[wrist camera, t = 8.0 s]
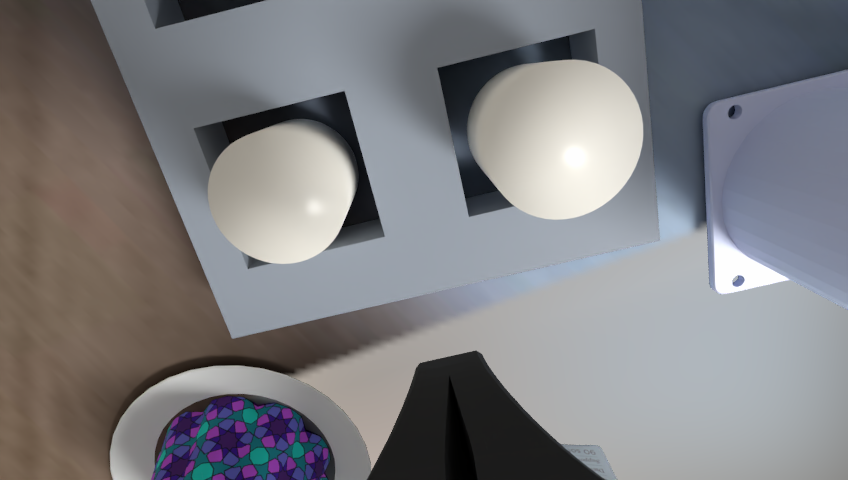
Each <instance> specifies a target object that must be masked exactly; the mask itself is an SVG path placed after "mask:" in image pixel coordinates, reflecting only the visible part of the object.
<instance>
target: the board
mask: <svg viewBox="0 0 848 480" xmlns="http://www.w3.org/2000/svg"><path fill="white" fill-rule="evenodd" d="M91 3H92V5H93V7H94V10H95V12H96V14H97V17H98V19H99V22H100V24H101V26H102V29H103V31H104V34H105V36H106V38H107V41H108V43H109V45H110V48H111V50H112V53H113V55H114V57H115V60H116V62H117V65H118V67H119V69H120V72H121V74H122V77H123V79H124V81H125V84H126V86H127V88H128V91H129V93H130V96H131V98H132V100H133V103H134V105H135V108H136V110H137V112H138V115H139V117H140V120H141V122H142V124H143V127H144V129H145V131H146V134H147V136H148V139H149V141H150V143H151V146H152V148H153V151H154V153H155V155H156V158H157V160H158V163H159V165H160V167H161V170H162V172H163V174H164V177H165V179H166V182H167V184H168V186H169V189H170V191H171V194H172V196H173V198H174V201H175V203H176V205H177V208H178V210H179V213H180V215H181V217H182V220H183V222H184V225H185V227H186V229H187V232H188V234H189V237H190V239H191V241H192V244H193V246H194V248H195V251H196V253H197V256H198V258H199V260H200V263H201V265H202V268H203V270H204V272H205V275H206V277H207V280H208V282H209V284H210V287H211V289H212V291H213V294H214V296H215V299H216V301H217V303H218V306H219V308H220V311H221V313H222V315H223V318H224V320H225V323H226V325H227V327H228V330H229V332H230V334H231V337H232V339H233V338H238V337H242V336H246V335H251V334H255V333H259V332H264V331H268V330H273V329H277V328H281V327H286V326H290V325H294V324H299V323H303V322H307V321H312V320H316V319H320V318H325V317H329V316H334V315H338V314H342V313H347V312H351V311H355V310H360V309H364V308H368V307H373V306H377V305H382V304H386V303H390V302H395V301H399V300H403V299H408V298H412V297H416V296H421V295H425V294H429V293H434V292H438V291H443V290H447V289H451V288H456V287H460V286H464V285H469V284H473V283H477V282H482V281H486V280H490V279H495V278H499V277H504V276H508V275H512V274H517V273H521V272H525V271H530V270H534V269H538V268H543V267H547V266H551V265H556V264H560V263H565V262H569V261H573V260H578V259H582V258H586V257H591V256H595V255H599V254H604V253H608V252H613V251H617V250H621V249H626V248H630V247H634V246H639V245H643V244H647V243H652V242H656V241H660V235H659V221H658V208H657V195H656V182H655V168H654V155H653V142H652V129H651V115H650V102H649V89H648V76H647V63H646V49H645V36H644V23H643V10H642V0H265V1H261V2H258V3H254V4H250V5H246V6H242V7H238V8H234V9H230V10H226V11H223V12H219V13H215V14H211V15H207V16H203V17H199V18H195V19H192V20H188V21H185V19H184V17H183V14H182V11H181V8H180V6H179V3H178V0H91ZM568 35H569V41H570V49H571V57H572V60H584V61H589V62H593V63H596V64H599V65H601V66H604V67H606V68H607V69H609V70H611V71H612V72H614V73H615V74H616V75H618V76H619V77H620V78H621V79H622V80H623V81H624V82H625V83H626V84H627V85H628V87H629V88H630V90H631V91H632V93H633V94H634V96H635V98H636V100H637V102H638V105H639V108H640V111H641V115H642V121H643V142H642V148H641V153H640V157H639V159H638V162H637V165H636V167H635V169H634V171H633V173H632V175H631V176H630V178H629V179H628V181H627V182H626V184H625V185H624V186H623V188H622V189H621V190H620V191H619V192H618V193H617V194H616V195H615V196H614V197H613V198H612V199H611V200H609V201H608V202H607V203H605V204H604V205H603V206H601V207H599V208H598V209H596V210H594V211H592V212H590V213H587V214H585V215H582V216H579V217H575V218H570V219H561V220H552V219H544V218H539V217H535V216H532V215H530V214H527V213H525V212H523V211H521V210H520V209H518V208H517V207H515V206H514V205H513V204H511V203H510V202H509V201H508V200H507V199H506V198H505V197H504V196H503V195H502V193H501V192H500V191H495V192H491V193H486V194H482V195H478V196H474V197H470V198H465V196H464V192H463V187H462V182H461V177H460V173H459V168H458V163H457V159H456V154H455V149H454V144H453V140H452V135H451V130H450V125H449V121H448V116H447V111H446V107H445V102H444V97H443V92H442V88H441V83H440V78H439V74H438V69H437V68H439V67H443V66H447V65H451V64H455V63H459V62H463V61H467V60H471V59H475V58H479V57H483V56H487V55H491V54H495V53H499V52H503V51H507V50H512V49H516V48H520V47H524V46H528V45H532V44H536V43H540V42H544V41H548V40H552V39H556V38H560V37H564V36H568ZM342 91H345V94H346V97H347V101H348V105H349V108H350V112H351V116H352V119H353V123H354V126H355V130H356V134H357V137H358V141H359V145H360V148H361V152H362V155H363V159H364V163H365V166H366V170H367V174H368V177H369V181H370V184H371V188H372V192H373V195H374V199H375V202H376V206H377V210H378V213H379V217H380V219H377V220H372V221H368V222H364V223H360V224H355V225H351V226H347V227H343V228H341V229H340V231H339V233H338V235H337V236H336V238H335V239H334V241H333V242H332V243H331V244H330V245H329V246H328V247H327V248H326V249H325V250H323V251H322V252H321V253H319V254H318V255H316V256H314V257H312V258H310V259H308V260H305V261H301V262H297V263H291V264H276V263H269V262H264V261H261V260H258V259H255V258H253V257H251V256H249V255H247V254H245V253H243V252H242V251H240V250H239V249H238V248H236V247H235V246H234V245H233V244H232V243H230V242H229V241H228V240H227V239H226V237H225V236H224V235H223V234H222V232H221V231H220V229H219V228H218V226H217V225H216V223H215V221H214V218H213V216H212V213H211V210H210V207H209V201H208V181H209V177H210V173H211V171H212V168H213V165H214V164H215V162H216V160H217V158H218V157H219V156H220V154H221V153H222V152H223V151H224V150H225V149H226V148H227V147H228V146H229V145H230V143H229V140H228V137H227V135H226V132H225V129H224V126H223V124H222V121H225V120H229V119H234V118H238V117H242V116H246V115H250V114H254V113H258V112H262V111H266V110H270V109H274V108H278V107H282V106H286V105H290V104H294V103H298V102H302V101H306V100H310V99H314V98H318V97H322V96H326V95H330V94H334V93H338V92H342Z"/></svg>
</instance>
